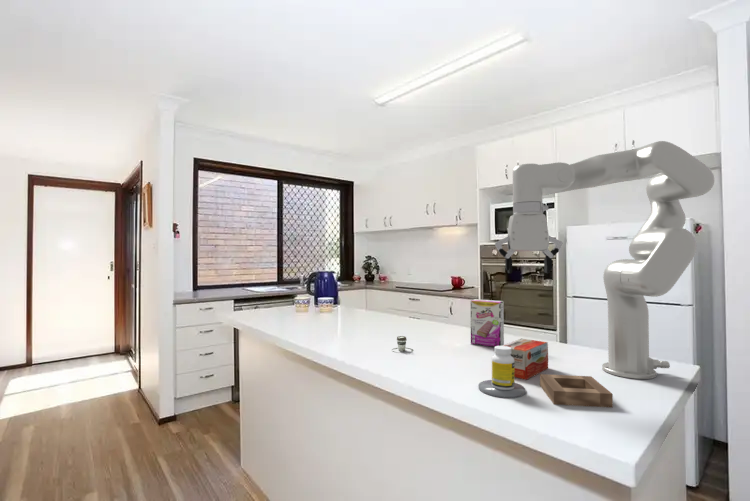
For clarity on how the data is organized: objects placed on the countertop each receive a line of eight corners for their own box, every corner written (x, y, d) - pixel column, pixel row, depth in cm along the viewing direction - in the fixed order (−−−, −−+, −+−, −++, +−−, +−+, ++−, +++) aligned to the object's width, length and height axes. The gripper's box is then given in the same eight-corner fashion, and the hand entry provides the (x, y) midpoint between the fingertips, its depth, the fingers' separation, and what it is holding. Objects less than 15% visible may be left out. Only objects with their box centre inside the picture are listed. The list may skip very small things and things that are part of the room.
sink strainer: (423, 348, 137) (423, 335, 137) (410, 357, 126) (410, 341, 126) (393, 345, 142) (393, 331, 142) (378, 352, 132) (378, 338, 132)
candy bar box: (470, 344, 141) (469, 300, 141) (474, 341, 146) (473, 298, 146) (501, 348, 135) (500, 302, 136) (504, 345, 140) (504, 300, 140)
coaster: (520, 383, 99) (520, 380, 99) (529, 399, 88) (529, 396, 88) (476, 381, 101) (476, 378, 101) (480, 396, 90) (480, 393, 90)
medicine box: (521, 363, 117) (521, 337, 117) (548, 368, 112) (548, 341, 112) (498, 374, 107) (498, 346, 107) (527, 381, 101) (526, 351, 101)
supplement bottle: (516, 391, 91) (515, 350, 91) (492, 390, 92) (492, 349, 92) (512, 384, 97) (512, 345, 97) (490, 382, 98) (490, 344, 98)
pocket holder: (591, 388, 95) (591, 376, 95) (612, 407, 83) (612, 393, 83) (540, 386, 97) (539, 374, 97) (553, 404, 85) (553, 390, 85)
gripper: (557, 210, 106) (558, 272, 106) (492, 212, 109) (493, 272, 109) (565, 207, 99) (566, 273, 99) (496, 209, 102) (497, 273, 102)
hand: (528, 272), depth 104 cm, fingers open, 9 cm apart
